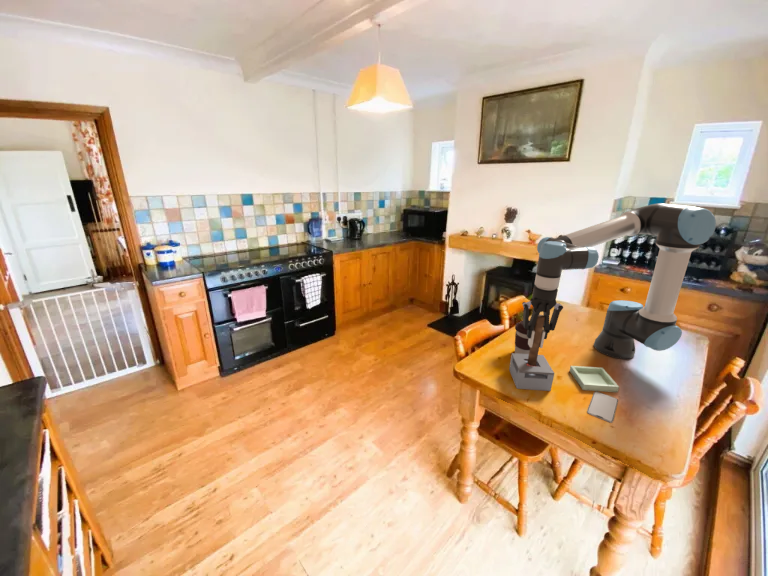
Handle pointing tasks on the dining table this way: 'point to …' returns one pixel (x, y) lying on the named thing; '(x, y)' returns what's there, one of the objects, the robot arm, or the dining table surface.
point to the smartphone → (603, 406)
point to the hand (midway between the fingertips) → (535, 345)
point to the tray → (593, 379)
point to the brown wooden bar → (536, 340)
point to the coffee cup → (521, 339)
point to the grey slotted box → (531, 373)
